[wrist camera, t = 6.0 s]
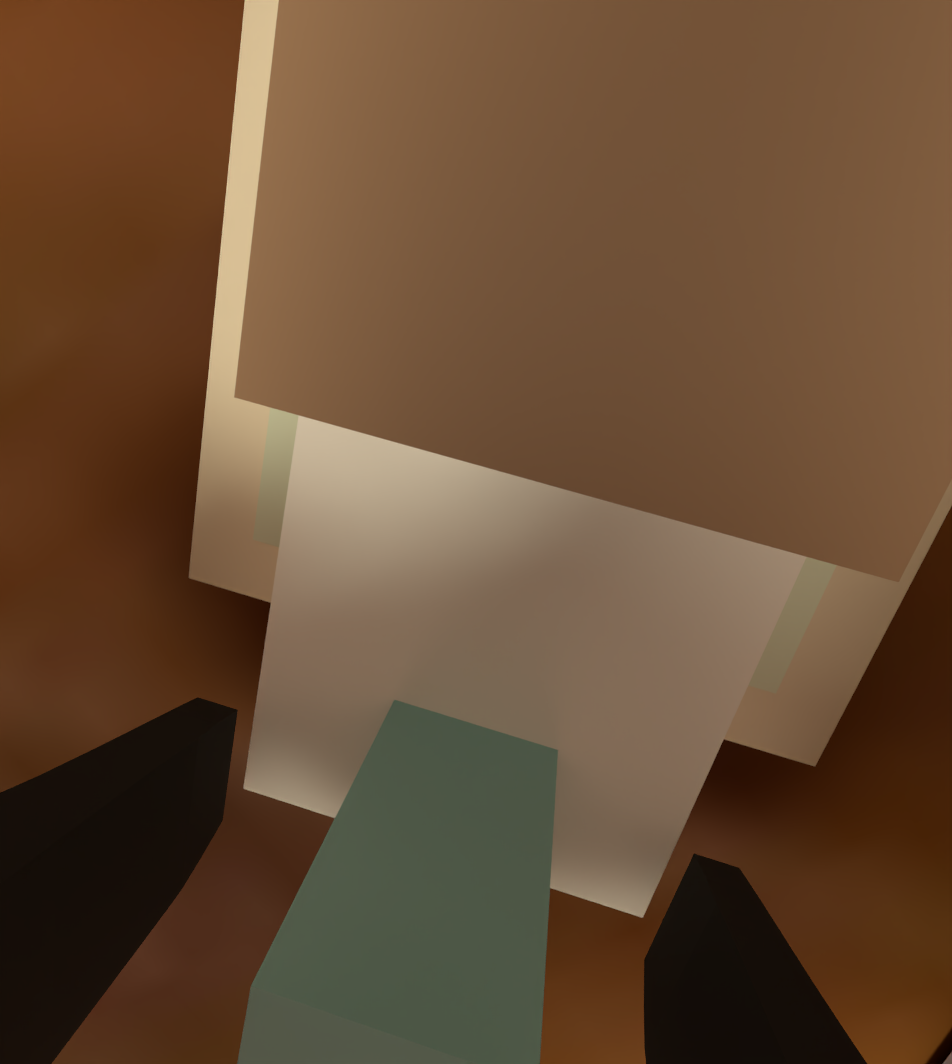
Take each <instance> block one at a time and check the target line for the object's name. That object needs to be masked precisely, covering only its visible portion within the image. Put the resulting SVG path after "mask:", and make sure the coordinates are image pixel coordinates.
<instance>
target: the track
mask: <svg viewBox="0 0 952 1064" xmlns="http://www.w3.org/2000/svg"><path fill="white" fill-rule="evenodd" d="M278 3H279V0H245V4H244V15H243V25H242V35H241V45H240V56H239V66H238V76H237V86H236V97H235V107H234V117H233V127H232V138H231V148H230V158H229V168H228V179H227V189H226V199H225V209H224V220H223V230H222V240H221V251H220V261H219V271H218V281H217V292H216V302H215V312H214V322H213V333H212V343H211V353H210V363H209V374H208V384H207V394H206V404H205V415H204V425H203V435H202V445H201V456H200V466H199V476H198V486H197V497H196V507H195V517H194V528H193V538H192V548H191V558H190V569H189V578H190V579H194V580H197V581H200V582H204V583H207V584H210V585H214V586H217V587H220V588H223V589H227V590H230V591H233V592H237V593H240V594H243V595H247V596H250V597H253V598H257V599H260V600H263V601H267V602H270V603H271V598H272V592H273V585H274V578H275V571H276V565H277V558H278V551H279V544H280V537H281V531H282V524H283V517H284V510H285V504H286V497H287V490H288V483H289V477H290V470H291V463H292V456H293V450H294V443H295V436H296V429H297V423H298V416H299V415H296V414H292V413H288V412H285V411H281V410H278V409H274V408H270V407H267V406H263V405H260V404H256V403H252V402H249V401H245V400H242V399H238V398H234V394H235V385H236V377H237V368H238V359H239V350H240V341H241V332H242V323H243V314H244V305H245V296H246V288H247V279H248V270H249V261H250V252H251V243H252V234H253V225H254V216H255V207H256V198H257V190H258V181H259V172H260V163H261V154H262V145H263V136H264V127H265V118H266V109H267V101H268V92H269V83H270V74H271V65H272V56H273V47H274V38H275V29H276V20H277V12H278ZM951 506H952V480H951V482H950V484H949V486H948V488H947V489H946V491H945V493H944V495H943V497H942V499H941V501H940V503H939V505H938V507H937V509H936V511H935V513H934V515H933V517H932V519H931V521H930V522H929V524H928V526H927V528H926V530H925V532H924V534H923V536H922V538H921V540H920V542H919V544H918V546H917V548H916V550H915V552H914V554H913V555H912V557H911V559H910V561H909V563H908V565H907V567H906V569H905V571H904V573H903V575H902V577H901V579H900V581H899V582H895V581H892V580H888V579H884V578H881V577H877V576H874V575H870V574H867V573H863V572H859V571H856V570H852V569H849V568H845V567H841V566H838V565H834V564H831V563H827V562H823V561H820V560H816V559H813V558H809V557H806V559H805V562H804V564H803V566H802V568H801V570H800V573H799V575H798V577H797V579H796V581H795V584H794V586H793V588H792V590H791V592H790V595H789V597H788V599H787V601H786V603H785V606H784V608H783V610H782V612H781V614H780V617H779V619H778V621H777V623H776V625H775V628H774V630H773V632H772V634H771V636H770V639H769V641H768V643H767V645H766V647H765V650H764V652H763V654H762V656H761V658H760V661H759V663H758V665H757V667H756V669H755V672H754V674H753V676H752V678H751V680H750V683H749V685H748V687H747V689H746V691H745V694H744V696H743V698H742V700H741V702H740V705H739V707H738V709H737V711H736V713H735V716H734V718H733V720H732V722H731V724H730V727H729V729H728V731H727V733H726V735H725V738H724V739H725V740H728V741H731V742H735V743H738V744H741V745H745V746H748V747H751V748H755V749H758V750H761V751H765V752H768V753H771V754H775V755H778V756H781V757H785V758H788V759H791V760H795V761H798V762H801V763H805V764H808V765H811V766H814V767H815V766H816V764H817V762H818V760H819V758H820V756H821V754H822V752H823V751H824V749H825V747H826V745H827V743H828V741H829V739H830V737H831V735H832V733H833V731H834V729H835V728H836V726H837V724H838V722H839V720H840V718H841V716H842V714H843V712H844V710H845V708H846V707H847V705H848V703H849V701H850V699H851V697H852V695H853V693H854V691H855V689H856V687H857V686H858V684H859V682H860V680H861V678H862V676H863V674H864V672H865V670H866V668H867V666H868V664H869V663H870V661H871V659H872V657H873V655H874V653H875V651H876V649H877V647H878V645H879V643H880V642H881V640H882V638H883V636H884V634H885V632H886V630H887V628H888V626H889V624H890V622H891V621H892V619H893V617H894V615H895V613H896V611H897V609H898V607H899V605H900V603H901V601H902V600H903V598H904V596H905V594H906V592H907V590H908V588H909V586H910V584H911V582H912V580H913V578H914V577H915V575H916V573H917V571H918V569H919V567H920V565H921V563H922V561H923V559H924V557H925V556H926V554H927V552H928V550H929V548H930V546H931V544H932V542H933V540H934V538H935V536H936V535H937V533H938V531H939V529H940V527H941V525H942V523H943V521H944V519H945V517H946V515H947V513H948V512H949V510H950V508H951Z"/></svg>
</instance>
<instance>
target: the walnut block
mask: <svg viewBox="0 0 952 1064" xmlns="http://www.w3.org/2000/svg"><path fill="white" fill-rule="evenodd" d="M234 398H238V399H242V400H245V401H249V402H252V403H256V404H260V405H263V406H267V407H270V408H274V409H278V410H281V411H285V412H288V413H292V414H296V415H299V416H303V417H306V418H310V419H313V420H317V421H321V422H324V423H328V424H331V425H335V426H339V427H342V428H346V429H349V430H353V431H357V432H360V433H364V434H367V435H371V436H375V437H378V438H382V439H385V440H389V441H393V442H396V443H400V444H403V445H407V446H410V447H414V448H418V449H421V450H425V451H428V452H432V453H436V454H439V455H443V456H446V457H450V458H454V459H457V460H461V461H464V462H468V463H472V464H475V465H479V466H482V467H486V468H489V469H493V470H497V471H500V472H504V473H507V474H511V475H515V476H518V477H522V478H525V479H529V480H533V481H536V482H540V483H543V484H547V485H551V486H554V487H558V488H561V489H565V490H568V491H572V492H576V493H579V494H583V495H586V496H590V497H594V498H597V499H601V500H604V501H608V502H612V503H615V504H619V505H622V506H626V507H630V508H633V509H637V510H640V511H644V512H647V513H651V514H655V515H658V516H662V517H665V518H669V519H673V520H676V521H680V522H683V523H687V524H691V525H694V526H698V527H701V528H705V529H709V530H712V531H716V532H719V533H723V534H726V535H730V536H734V537H737V538H741V539H744V540H748V541H752V542H755V543H759V544H762V545H766V546H770V547H773V548H777V549H780V550H784V551H788V552H791V553H795V554H798V555H802V556H805V557H809V558H813V559H816V560H820V561H823V562H827V563H831V564H834V565H838V566H841V567H845V568H849V569H852V570H856V571H859V572H863V573H867V574H870V575H874V576H877V577H881V578H884V579H888V580H892V581H895V582H899V581H900V579H901V577H902V575H903V573H904V571H905V569H906V567H907V565H908V563H909V561H910V559H911V557H912V555H913V554H914V552H915V550H916V548H917V546H918V544H919V542H920V540H921V538H922V536H923V534H924V532H925V530H926V528H927V526H928V524H929V522H930V521H931V519H932V517H933V515H934V513H935V511H936V509H937V507H938V505H939V503H940V501H941V499H942V497H943V495H944V493H945V491H946V489H947V488H948V486H949V484H950V482H951V480H952V0H279V3H278V12H277V20H276V29H275V38H274V47H273V56H272V65H271V74H270V83H269V92H268V101H267V109H266V118H265V127H264V136H263V145H262V154H261V163H260V172H259V181H258V190H257V198H256V207H255V216H254V225H253V234H252V243H251V252H250V261H249V270H248V279H247V288H246V296H245V305H244V314H243V323H242V332H241V341H240V350H239V359H238V368H237V377H236V385H235V394H234Z"/></svg>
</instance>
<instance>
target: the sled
mask: <svg viewBox="0 0 952 1064" xmlns="http://www.w3.org/2000/svg"><path fill="white" fill-rule="evenodd" d="M805 559H806V557H805V556H802V555H798V554H795V553H791V552H788V551H784V550H780V549H777V548H773V547H770V546H766V545H762V544H759V543H755V542H752V541H748V540H744V539H741V538H737V537H734V536H730V535H726V534H723V533H719V532H716V531H712V530H709V529H705V528H701V527H698V526H694V525H691V524H687V523H683V522H680V521H676V520H673V519H669V518H665V517H662V516H658V515H655V514H651V513H647V512H644V511H640V510H637V509H633V508H630V507H626V506H622V505H619V504H615V503H612V502H608V501H604V500H601V499H597V498H594V497H590V496H586V495H583V494H579V493H576V492H572V491H568V490H565V489H561V488H558V487H554V486H551V485H547V484H543V483H540V482H536V481H533V480H529V479H525V478H522V477H518V476H515V475H511V474H507V473H504V472H500V471H497V470H493V469H489V468H486V467H482V466H479V465H475V464H472V463H468V462H464V461H461V460H457V459H454V458H450V457H446V456H443V455H439V454H436V453H432V452H428V451H425V450H421V449H418V448H414V447H410V446H407V445H403V444H400V443H396V442H393V441H389V440H385V439H382V438H378V437H375V436H371V435H367V434H364V433H360V432H357V431H353V430H349V429H346V428H342V427H339V426H335V425H331V424H328V423H324V422H321V421H317V420H313V419H310V418H306V417H303V416H298V423H297V429H296V436H295V443H294V450H293V456H292V463H291V470H290V477H289V483H288V490H287V497H286V504H285V510H284V517H283V524H282V531H281V537H280V544H279V551H278V558H277V565H276V571H275V578H274V585H273V592H272V598H271V605H270V612H269V619H268V625H267V632H266V639H265V646H264V652H263V659H262V666H261V673H260V679H259V686H258V693H257V700H256V707H255V713H254V720H253V727H252V734H251V740H250V747H249V754H248V761H247V767H246V774H245V781H244V788H243V789H246V790H249V791H253V792H256V793H259V794H262V795H265V796H268V797H271V798H274V799H277V800H280V801H283V802H287V803H290V804H293V805H296V806H299V807H302V808H305V809H308V810H311V811H314V812H317V813H321V814H324V815H327V816H330V817H333V818H335V819H334V821H333V823H332V825H331V827H330V829H329V831H328V833H327V835H326V837H325V839H324V841H323V843H322V845H321V847H320V849H319V851H318V853H317V855H316V857H315V859H314V861H313V863H312V865H311V867H310V869H309V871H308V873H307V875H306V877H305V879H304V881H303V883H302V885H301V887H300V889H299V891H298V893H297V895H296V897H295V899H294V901H293V903H292V905H291V907H290V909H289V911H288V913H287V915H286V917H285V919H284V921H283V923H282V925H281V927H280V929H279V931H278V933H277V935H276V937H275V939H274V941H273V943H272V945H271V947H270V949H269V951H268V953H267V955H266V957H265V959H264V961H263V963H262V965H261V967H260V969H259V971H258V973H257V975H256V977H255V979H254V981H253V983H252V985H251V989H250V995H249V1001H248V1006H247V1012H246V1018H245V1023H244V1029H243V1035H242V1040H241V1046H240V1052H239V1057H238V1063H237V1064H540V1049H541V1032H542V1015H543V998H544V981H545V964H546V947H547V930H548V912H549V895H550V888H552V889H555V890H558V891H561V892H564V893H568V894H571V895H574V896H577V897H580V898H583V899H586V900H589V901H592V902H595V903H598V904H602V905H605V906H608V907H611V908H614V909H617V910H620V911H623V912H626V913H629V914H632V915H635V916H639V917H642V918H643V916H644V914H645V911H646V909H647V907H648V905H649V903H650V900H651V898H652V896H653V894H654V892H655V889H656V887H657V885H658V883H659V881H660V878H661V876H662V874H663V872H664V870H665V867H666V865H667V863H668V861H669V859H670V856H671V854H672V852H673V850H674V848H675V845H676V843H677V841H678V839H679V837H680V834H681V832H682V830H683V828H684V826H685V823H686V821H687V819H688V817H689V815H690V812H691V810H692V808H693V806H694V804H695V801H696V799H697V797H698V795H699V793H700V790H701V788H702V786H703V784H704V782H705V779H706V777H707V775H708V773H709V771H710V768H711V766H712V764H713V762H714V760H715V757H716V755H717V753H718V751H719V749H720V746H721V744H722V742H723V740H724V738H725V735H726V733H727V731H728V729H729V727H730V724H731V722H732V720H733V718H734V716H735V713H736V711H737V709H738V707H739V705H740V702H741V700H742V698H743V696H744V694H745V691H746V689H747V687H748V685H749V683H750V680H751V678H752V676H753V674H754V672H755V669H756V667H757V665H758V663H759V661H760V658H761V656H762V654H763V652H764V650H765V647H766V645H767V643H768V641H769V639H770V636H771V634H772V632H773V630H774V628H775V625H776V623H777V621H778V619H779V617H780V614H781V612H782V610H783V608H784V606H785V603H786V601H787V599H788V597H789V595H790V592H791V590H792V588H793V586H794V584H795V581H796V579H797V577H798V575H799V573H800V570H801V568H802V566H803V564H804V562H805Z"/></svg>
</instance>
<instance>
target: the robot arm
mask: <svg viewBox="0 0 952 1064" xmlns="http://www.w3.org/2000/svg"><path fill="white" fill-rule="evenodd" d="M236 717H237V710H236V709H233V708H229V707H226V706H223V705H220V704H217V703H214V702H210V701H207V700H204V699H201V698H196V699H194V700H191V701H189V702H187V703H185V704H183V705H181V706H179V707H177V708H175V709H173V710H171V711H169V712H167V713H165V714H163V715H161V716H159V717H157V718H155V719H153V720H151V721H149V722H147V723H145V724H143V725H141V726H139V727H137V728H135V729H133V730H131V731H129V732H127V733H125V734H123V735H121V736H119V737H117V738H115V739H113V740H111V741H109V742H107V743H105V744H103V745H101V746H99V747H97V748H95V749H93V750H91V751H89V752H87V753H85V754H83V755H81V756H79V757H77V758H75V759H73V760H70V761H68V762H66V763H64V764H62V765H60V766H58V767H56V768H54V769H52V770H50V771H48V772H46V773H44V774H41V775H39V776H37V777H35V778H33V779H31V780H28V781H26V782H24V783H22V784H19V785H17V786H15V787H13V788H10V789H8V790H6V791H3V792H1V793H0V1064H51V1063H52V1062H53V1061H54V1059H55V1058H56V1057H57V1055H58V1054H59V1053H60V1051H61V1050H62V1049H63V1047H64V1046H65V1045H66V1043H67V1042H68V1041H69V1039H70V1038H71V1037H72V1035H73V1034H74V1033H75V1032H76V1030H77V1029H78V1028H79V1026H80V1025H81V1024H82V1022H83V1021H84V1020H85V1018H86V1017H87V1016H88V1014H89V1013H90V1012H91V1010H92V1009H93V1008H94V1006H95V1005H96V1004H97V1002H98V1001H99V1000H100V998H101V997H102V996H103V994H104V993H105V992H106V990H107V989H108V988H109V986H110V985H111V984H112V982H113V981H114V980H115V978H116V977H117V976H118V974H119V973H120V972H121V970H122V969H123V968H124V966H125V965H126V964H127V962H128V961H129V960H130V958H131V957H132V956H133V954H134V953H135V952H136V950H137V949H138V948H139V946H140V945H141V944H142V942H143V941H144V940H145V938H146V937H147V936H148V934H149V933H150V932H151V930H152V929H153V928H154V926H155V925H156V924H157V922H158V921H159V920H160V918H161V917H162V915H163V914H164V913H165V911H166V910H167V909H168V907H169V906H170V905H171V903H172V902H173V901H174V899H175V898H176V896H177V895H178V894H179V892H180V891H181V889H182V888H183V886H184V885H185V883H186V881H187V880H188V878H189V876H190V875H191V873H192V871H193V870H194V868H195V867H196V865H197V863H198V862H199V860H200V858H201V857H202V855H203V853H204V851H205V850H206V848H207V846H208V845H209V843H210V841H211V839H212V838H213V836H214V834H215V833H216V831H217V829H218V827H219V826H220V824H221V822H222V820H223V812H224V805H225V798H226V790H227V783H228V776H229V768H230V761H231V754H232V747H233V739H234V732H235V725H236ZM644 1035H645V1056H646V1064H867V1063H866V1062H865V1060H864V1059H863V1057H862V1056H861V1054H860V1053H859V1051H858V1050H857V1048H856V1047H855V1045H854V1044H853V1042H852V1041H851V1039H850V1038H849V1036H848V1035H847V1033H846V1032H845V1030H844V1029H843V1027H842V1026H841V1024H840V1023H839V1021H838V1020H837V1018H836V1017H835V1015H834V1014H833V1012H832V1011H831V1009H830V1008H829V1006H828V1005H827V1003H826V1002H825V1000H824V999H823V997H822V996H821V994H820V992H819V991H818V989H817V988H816V986H815V985H814V983H813V982H812V980H811V979H810V977H809V976H808V974H807V972H806V971H805V969H804V968H803V966H802V965H801V963H800V961H799V960H798V958H797V957H796V955H795V954H794V952H793V951H792V949H791V947H790V946H789V944H788V943H787V941H786V940H785V938H784V936H783V935H782V933H781V932H780V930H779V929H778V927H777V925H776V924H775V922H774V921H773V919H772V918H771V916H770V914H769V913H768V911H767V910H766V908H765V907H764V905H763V903H762V902H761V900H760V899H759V897H758V896H757V894H756V893H755V891H754V890H753V888H752V886H751V885H750V883H749V882H748V880H747V879H746V877H745V876H744V874H743V873H742V871H741V870H740V869H739V868H738V867H734V866H731V865H728V864H725V863H722V862H719V861H715V860H712V859H709V858H706V857H703V856H700V855H696V854H694V855H693V857H692V859H691V862H690V864H689V866H688V868H687V870H686V872H685V874H684V876H683V879H682V881H681V883H680V885H679V887H678V889H677V891H676V893H675V896H674V898H673V900H672V902H671V904H670V906H669V908H668V910H667V913H666V915H665V917H664V919H663V921H662V923H661V925H660V927H659V930H658V932H657V934H656V936H655V938H654V940H653V942H652V944H651V947H650V949H649V951H648V953H647V955H646V957H645V960H644ZM943 1064H952V1052H951V1053H950V1055H949V1056H948V1057H947V1059H946V1060H945V1061H944V1063H943Z"/></svg>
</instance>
